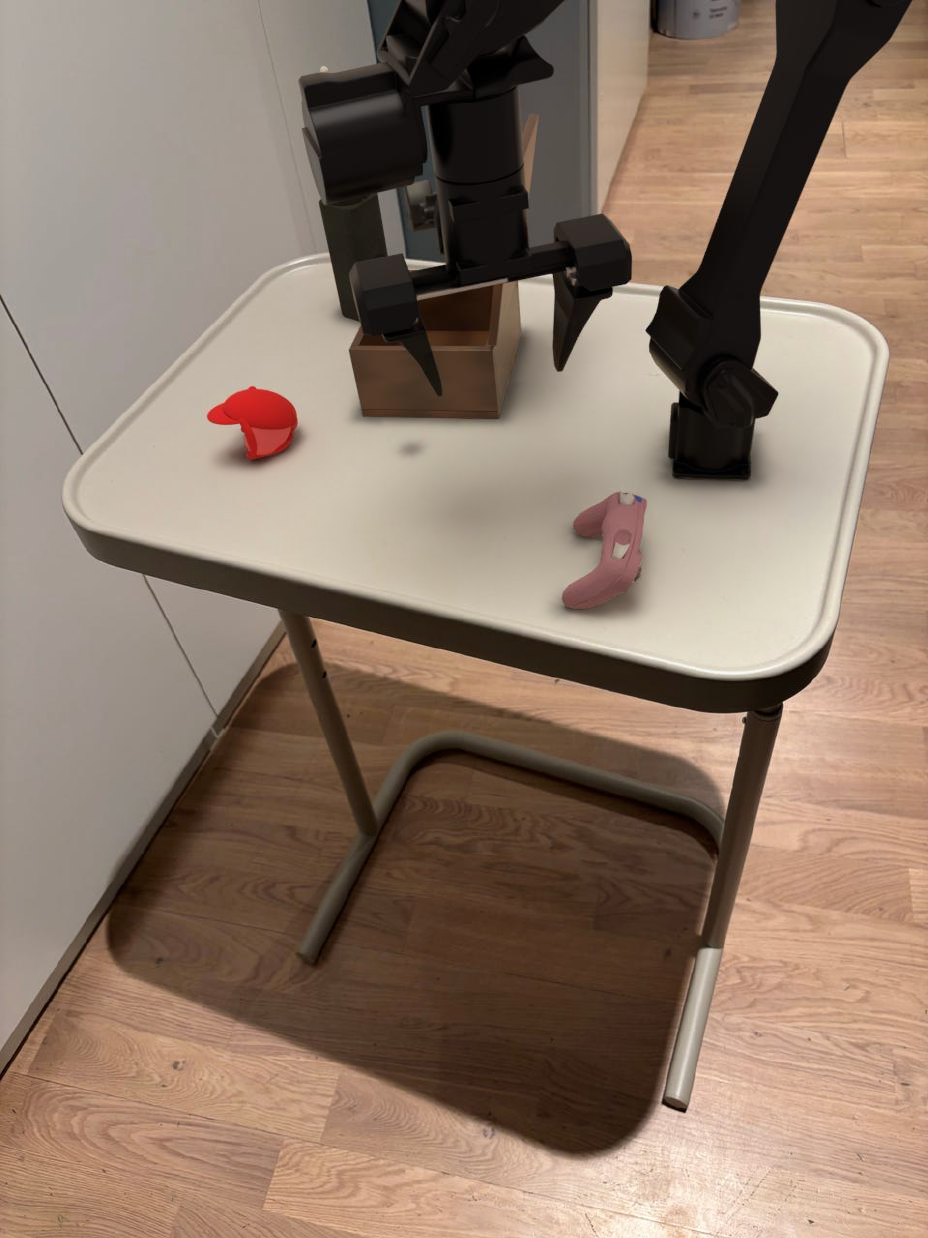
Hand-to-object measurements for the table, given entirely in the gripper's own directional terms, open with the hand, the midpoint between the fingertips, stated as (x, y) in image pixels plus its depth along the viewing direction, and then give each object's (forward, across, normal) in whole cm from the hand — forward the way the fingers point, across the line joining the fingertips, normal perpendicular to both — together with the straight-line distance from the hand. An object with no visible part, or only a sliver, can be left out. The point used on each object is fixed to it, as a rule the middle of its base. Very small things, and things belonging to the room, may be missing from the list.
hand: (498, 381), depth 70 cm
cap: (+13, +20, -18) cm, 30 cm away
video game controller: (+13, -5, +9) cm, 17 cm away
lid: (-2, -6, -21) cm, 22 cm away
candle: (+13, +7, -40) cm, 43 cm away
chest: (+13, +1, -24) cm, 27 cm away
